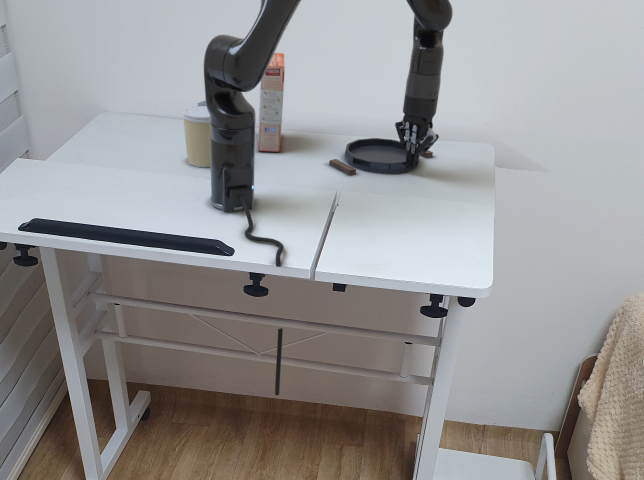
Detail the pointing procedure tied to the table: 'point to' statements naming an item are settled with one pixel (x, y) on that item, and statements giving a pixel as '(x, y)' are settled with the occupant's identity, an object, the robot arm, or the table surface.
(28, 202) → the table surface
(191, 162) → the coffee cup
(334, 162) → the walnut strips
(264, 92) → the cracker box
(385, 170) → the plate
